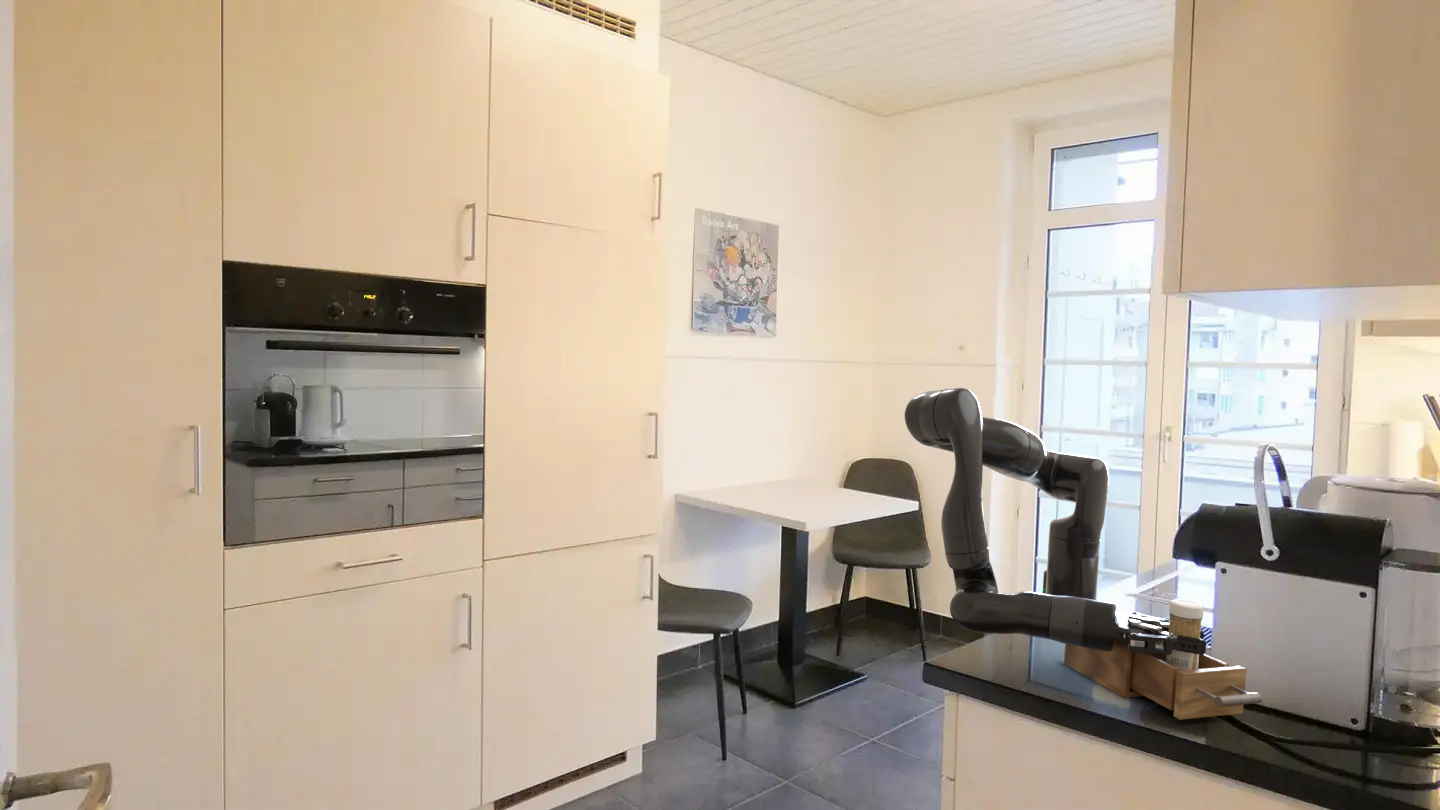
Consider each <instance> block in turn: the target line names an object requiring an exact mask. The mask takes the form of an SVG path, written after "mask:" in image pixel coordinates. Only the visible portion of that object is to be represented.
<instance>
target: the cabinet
mask: <svg viewBox="0 0 1440 810" xmlns="http://www.w3.org/2000/svg"><path fill="white" fill-rule="evenodd" d="M1131 612H1132V611H1130V610H1123V611H1121V610H1120V611H1116V613H1115V614H1116V616H1128V617H1129V615H1131ZM1161 629H1162V628H1161ZM1160 642H1161V644H1163V643H1164V641H1160ZM1063 659H1064V660H1063V664H1064V665H1065V666H1066V667H1068V668H1070V669H1072V670H1074V671H1076V672H1078V673H1079V674H1081V675H1083V676H1085V677H1086V678H1088V679H1090V680H1092V681H1094V682H1095V683H1098V684H1100V685H1101V686H1103V687H1105V688H1106V689H1108V690H1110V691H1111V692H1114V693H1116V694H1117V695H1119V696H1120V697H1123V698H1125V699H1127V698H1137V697H1144V696H1143V695H1141V694H1140V693H1138V692H1136V691H1134V690H1132V689H1130V675H1131V661H1132V651H1130V650H1129V646H1128V645H1127V644H1126V643H1122V642H1119V641H1115V640H1114V641H1113V649H1112V650H1111V651H1103V650H1097V649H1092V648H1086V647H1080V646H1075V645H1069V644H1064V658H1063Z"/></svg>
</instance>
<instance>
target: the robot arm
mask: <svg viewBox="0 0 1440 810" xmlns="http://www.w3.org/2000/svg"><path fill="white" fill-rule="evenodd" d="M904 423H905V427H906V429H907V430H908V432H909V434H910V435H911V436H912V438H914V440H915V441H916V442H919V444H922V445H923V446H927V447H931V448H933V449H934V448H935V449H939V450H943V451H947V452H950V453H953V455H954V473H953V477H952V482H951V484H950V488H949V490H948V493H947V495H946V498H945V501H944V504H943V507H942V512H941V516H940V518H941V519H940V526H941V535H942V540H943V541H942V542H943V547H944V554H945V555H944V556H945V559H946V562H947V565H948V567H949V568H950V569H951V570H952V573H953V578H954V585H955V594H953V596H952V598H951V601H950V604H949V613H950V616H951V618H952V619H953V621H954V622H955V623H956V624H957V626H959V627H961V628H963V629H965V630H967V631H969V632H973V633H978V634H979V633H980V634H991V635H993V634H994V635H995V634H997V635H1013V634H1014V635H1015V634H1016V635H1024V636H1028V637H1034V638H1040V639H1045V640H1051V641H1054V642H1058V643H1061V644H1064V645H1065V644H1069V645H1075V646H1080V647H1086V648H1092V649H1097V650H1103V651H1111V650H1112V649H1113V641H1114V640H1115V641H1119V642H1122V643H1126V644H1127V645H1128V646H1129V650H1130V651H1132V652H1144V653H1155V654H1166V655H1172V652H1176V649H1177V651H1182V652H1188V653H1194V654H1200V655H1204V654H1206V652H1207V641H1206V639H1204V638H1205V632H1204V631H1203V630H1202V629H1201V632H1200V638H1194V637H1188V636H1182V635H1176V634H1174V633H1168V631H1169V620H1170V619H1168V618H1162V617H1158V616H1154V615H1150V614H1146V613H1145V614H1144V613H1141V612H1137V611H1130V612H1131V615H1129V617H1128V616H1116V614H1115V613H1116V612H1117V606H1116V604H1115V603H1114V602H1111V601H1105V600H1098V599H1097V592H1098V591H1097V590H1098V577H1099V561H1100V549H1101V547H1100V546H1101V533H1102V530H1103V528H1104V523H1105V518H1106V517H1105V516H1106V508H1107V500H1108V492H1109V483H1110V482H1109V481H1110V475H1109V468H1108V466H1107V463H1106V462H1105V461H1104V460H1103V459H1101V458H1099V457H1096V456H1095V457H1094V456H1088V455H1080V454H1074V453H1073V454H1072V453H1067V452H1066V453H1065V452H1057V451H1053V450H1049V449H1046V447H1045V444H1044V441H1043V440H1042V439H1041V438H1040V437H1039V436H1038V435H1037V434H1036V433H1034V432H1033V431H1031V430H1030V429H1028V428H1026V427H1023V426H1021V425H1019V424H1018V423H1014V422H1012V421H1007V420H1005V419H999V418H992V417H985V416H982V410H981V406H980V402H979V400H978V399H977V396H976V395H975V394H974V393H973V392H972V390H971V391H970V389H967V388H964V387H953V388H944V389H936V390H929V391H925V392H921V393H919V394H917V395H915V396H913V397H912V398H911V399H910V400H909V401H908V403H907V404H906V407H905V409H904ZM983 467H986V468H988V469H990V470H992V471H994V472H995V473H999V474H1001V475H1003V476H1006V477H1008V478H1010V479H1014V480H1017V481H1020V482H1026V483H1029V484H1030V485H1032V486H1034V487H1036V488H1037V489H1038V490H1040V491H1042V492H1043V493H1045V494H1046V495H1048V496H1050V497H1052V498H1054V499H1056V500H1059V501H1064V502H1068V503H1074V504H1075V506H1074V510H1073V513H1072V514H1070V515H1068V516H1064V517H1059V518H1055V519H1051V521H1050V523H1049V530H1048V547H1047V562H1046V569H1045V570H1044V571H1043V579H1042V588H1041V592H1036V591H1027V590H1026V591H1025V590H1023V591H1019V592H1016V593H1013V594H1009V593H999V589H998V584H997V580H996V579H997V578H996V576H995V572H994V569H993V566H992V563H991V559H990V549H989V541H988V534H987V528H986V523H985V515H984V505H983ZM1161 628H1162V629H1161ZM1177 637H1178V638H1177ZM1160 641H1164V643H1163V644H1161V642H1160Z"/></svg>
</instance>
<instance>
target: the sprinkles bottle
mask: <svg viewBox="0 0 1440 810" xmlns="http://www.w3.org/2000/svg"><path fill="white" fill-rule="evenodd" d="M1204 610H1205V607H1204V605H1203V604H1202V603H1200V602H1198V601H1194V600H1190V599H1183V598H1174V599H1171V600H1170V601H1169V608H1168V612H1169V619H1168V620H1169V631H1168V633H1174V634H1176V635H1182V636H1188V637H1194V638H1200V632H1201V630H1202V628H1201V627H1202V620H1203V618H1204V612H1205V611H1204ZM1177 638H1178V637H1177ZM1198 662H1199V654H1194V653H1188V652H1182V651H1177V649H1176V652H1172V655H1166V663H1168V664H1170V665H1172V666H1175V667H1177V668H1178V671H1182V670H1194V669H1198Z"/></svg>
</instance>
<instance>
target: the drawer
mask: <svg viewBox="0 0 1440 810" xmlns="http://www.w3.org/2000/svg"><path fill="white" fill-rule="evenodd" d="M1246 679H1247V668H1246V667H1244V666H1241V665H1232V666H1231V665H1230V666H1229V663H1227V662H1225V661H1223V660H1220V659H1218V658H1216V657H1213V656H1211V655H1208V654H1207V653H1205V654H1204V655H1200V654H1199V662H1198V669H1194V670H1182V671H1178V668H1177V667H1175V666H1172V665H1170V664H1168V663H1166V654H1155V653H1144V652H1132V661H1131V675H1130V689H1132V690H1134V691H1136V692H1138V693H1140V694H1141V695H1143V696H1142V697H1145V698H1147V699H1149V700H1150V701H1153V702H1154V703H1156V704H1158V705H1160V706H1162V707H1164V708H1166V709H1168V710H1170V711H1173V717H1174V718H1175V719H1178V720H1179V721H1180V720H1181V721H1182V720H1191V719H1200V718H1209V717H1210V718H1211V717H1219V716H1220V717H1221V716H1231V715H1239V714H1244V706H1245V705H1254V704H1261V703H1262V702H1263V697H1262V694H1260V693H1259V692H1249V691H1247V690H1246V681H1247V680H1246Z"/></svg>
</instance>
